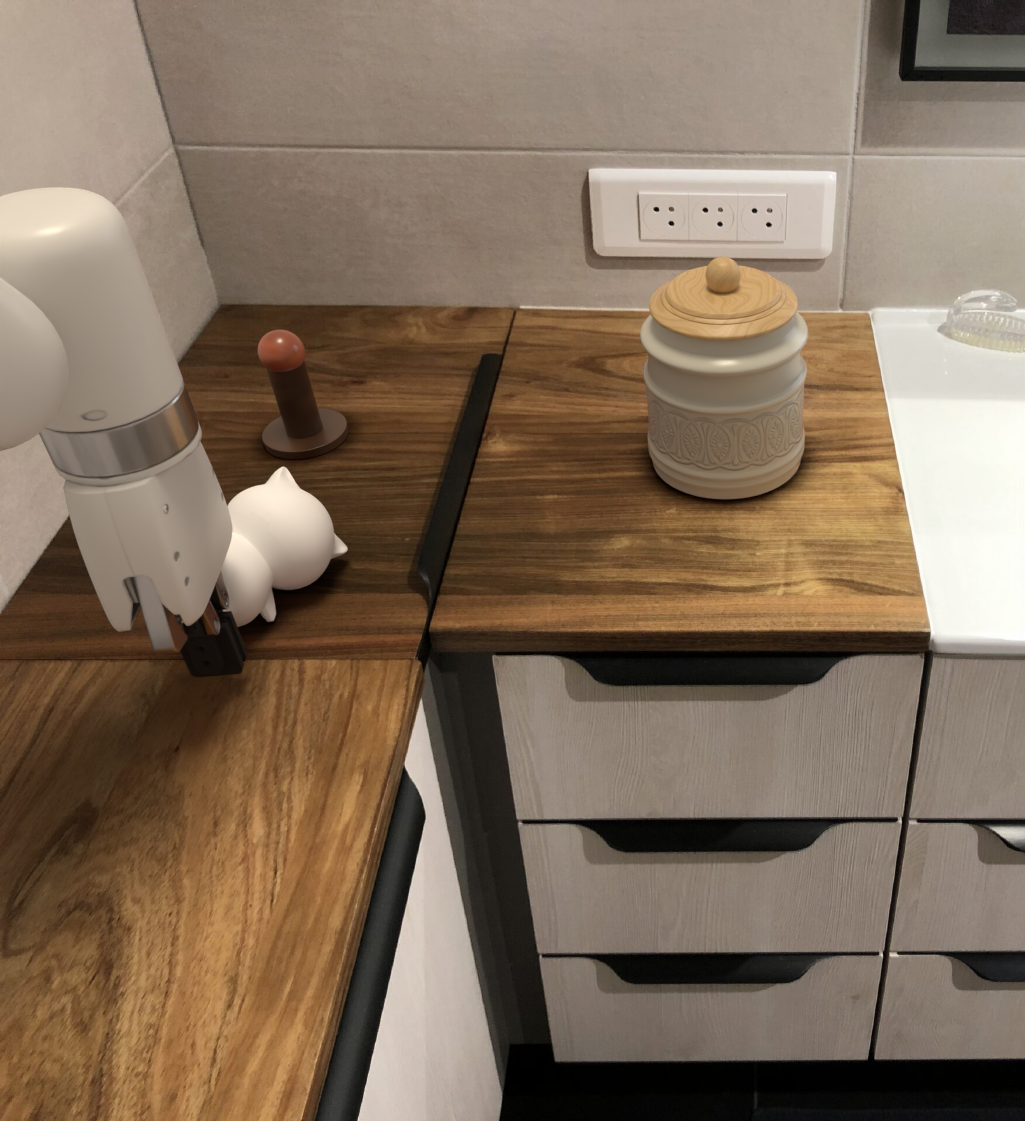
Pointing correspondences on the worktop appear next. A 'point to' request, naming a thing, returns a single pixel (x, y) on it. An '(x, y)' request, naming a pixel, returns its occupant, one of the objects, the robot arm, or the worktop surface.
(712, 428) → the jar
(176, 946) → the worktop surface
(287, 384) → the marker post
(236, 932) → the worktop surface
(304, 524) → the cat figurine
